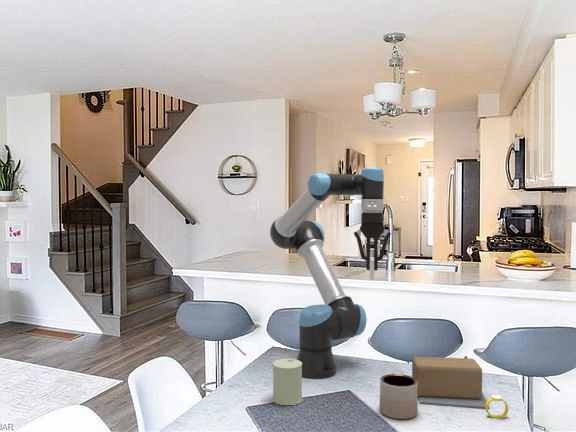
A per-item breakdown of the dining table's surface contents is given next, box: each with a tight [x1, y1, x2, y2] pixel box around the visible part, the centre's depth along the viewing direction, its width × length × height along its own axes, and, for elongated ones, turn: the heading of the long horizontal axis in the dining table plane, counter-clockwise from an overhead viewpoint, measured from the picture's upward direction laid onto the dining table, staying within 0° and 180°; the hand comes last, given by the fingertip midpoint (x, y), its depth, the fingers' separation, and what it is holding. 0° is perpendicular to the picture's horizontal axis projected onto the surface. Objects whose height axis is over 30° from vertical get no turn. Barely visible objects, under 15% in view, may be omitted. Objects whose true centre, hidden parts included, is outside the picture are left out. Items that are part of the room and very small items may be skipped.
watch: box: [484, 394, 509, 419], centre depth 140 cm, size 6×3×6 cm, turn 84°
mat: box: [418, 393, 490, 410], centre depth 155 cm, size 20×16×1 cm
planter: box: [379, 373, 419, 421], centre depth 143 cm, size 11×11×10 cm
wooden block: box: [411, 356, 483, 399], centre depth 156 cm, size 10×10×20 cm
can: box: [272, 358, 303, 406], centre depth 152 cm, size 9×9×12 cm
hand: (371, 279), depth 170 cm, fingers closed
